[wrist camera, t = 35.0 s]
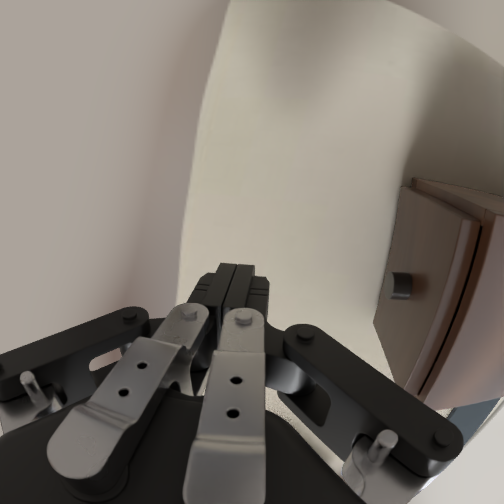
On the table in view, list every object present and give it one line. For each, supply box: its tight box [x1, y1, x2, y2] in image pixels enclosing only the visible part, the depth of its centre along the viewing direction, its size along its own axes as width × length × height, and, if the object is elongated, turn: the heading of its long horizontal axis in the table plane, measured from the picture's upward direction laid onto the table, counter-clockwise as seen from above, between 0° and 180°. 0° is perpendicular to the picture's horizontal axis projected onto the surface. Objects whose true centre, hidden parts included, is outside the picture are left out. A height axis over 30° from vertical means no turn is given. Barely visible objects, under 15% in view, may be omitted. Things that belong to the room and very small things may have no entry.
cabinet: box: [412, 178, 504, 411], centre depth 15 cm, size 14×12×10 cm
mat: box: [447, 397, 501, 446], centre depth 25 cm, size 22×8×1 cm, turn 178°
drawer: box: [373, 186, 483, 396], centre depth 15 cm, size 14×10×8 cm
